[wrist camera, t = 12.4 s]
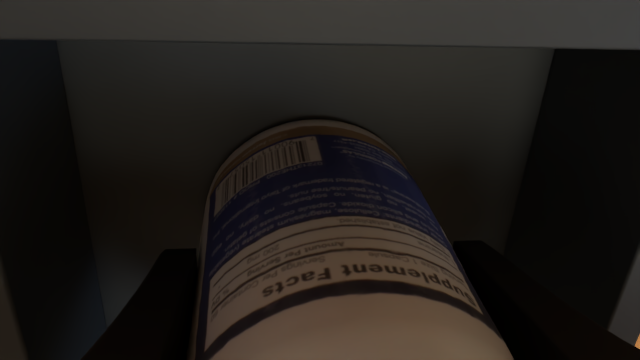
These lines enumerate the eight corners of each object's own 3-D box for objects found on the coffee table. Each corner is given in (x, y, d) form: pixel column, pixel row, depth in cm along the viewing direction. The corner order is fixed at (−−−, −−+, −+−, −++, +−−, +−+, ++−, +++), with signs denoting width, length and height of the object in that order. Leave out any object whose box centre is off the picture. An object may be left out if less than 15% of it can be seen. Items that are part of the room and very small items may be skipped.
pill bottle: (376, 303, 16) (519, 776, 8) (187, 277, 15) (116, 805, 7) (445, 136, 14) (757, 557, 5) (228, 88, 13) (199, 535, 4)
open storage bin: (95, 380, 17) (44, 558, 13) (5, -71, 11) (-150, -29, 7) (489, 357, 19) (565, 508, 14) (597, -47, 13) (784, -1, 8)
